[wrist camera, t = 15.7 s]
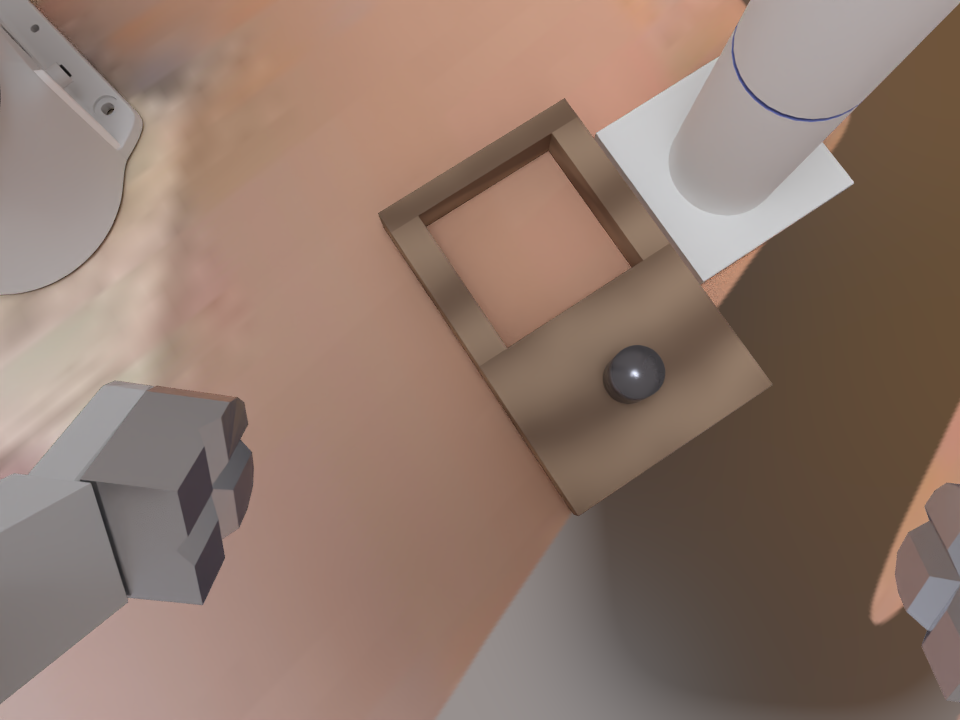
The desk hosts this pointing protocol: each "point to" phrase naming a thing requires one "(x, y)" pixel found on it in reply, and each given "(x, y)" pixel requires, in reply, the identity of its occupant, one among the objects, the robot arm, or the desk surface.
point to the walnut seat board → (588, 325)
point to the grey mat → (692, 232)
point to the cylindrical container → (788, 91)
